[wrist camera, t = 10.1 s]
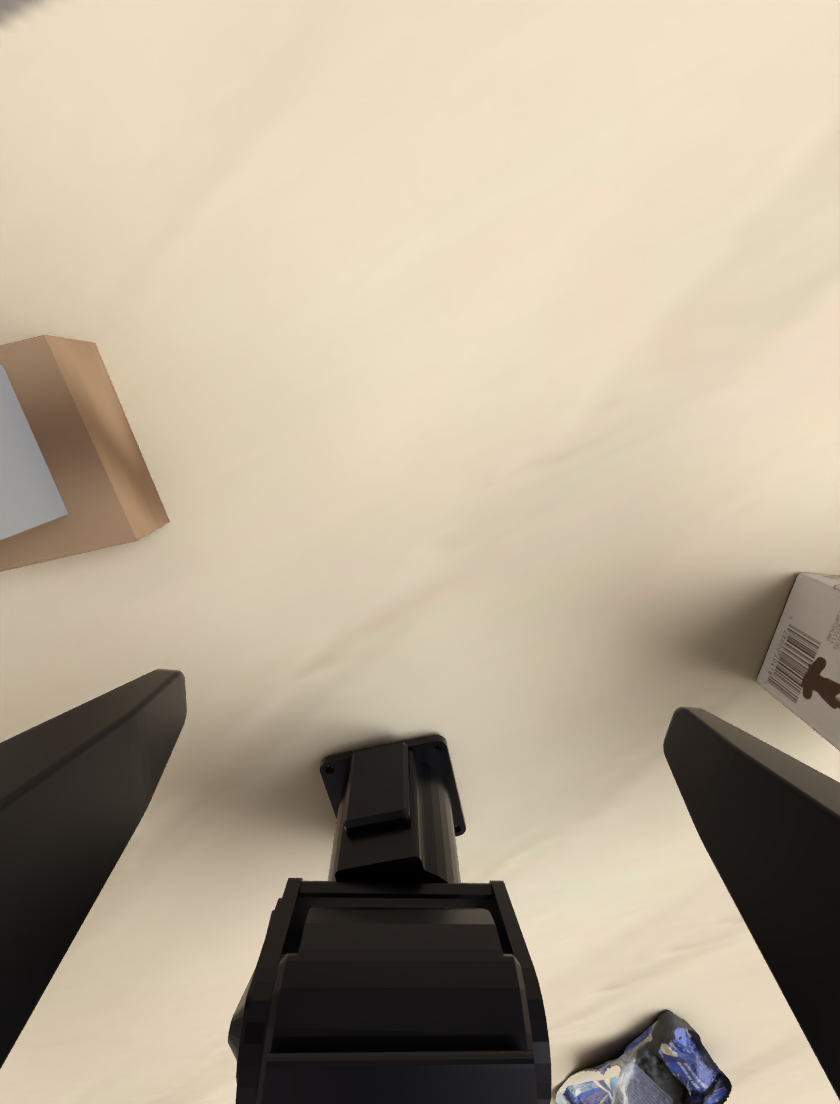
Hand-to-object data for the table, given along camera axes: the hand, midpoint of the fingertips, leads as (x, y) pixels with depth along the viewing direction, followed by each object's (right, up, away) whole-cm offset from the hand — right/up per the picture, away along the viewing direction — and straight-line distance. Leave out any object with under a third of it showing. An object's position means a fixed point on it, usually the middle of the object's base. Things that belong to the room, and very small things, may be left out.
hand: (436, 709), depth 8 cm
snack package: (+15, -34, +26) cm, 46 cm away
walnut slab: (-15, +7, +10) cm, 19 cm away
